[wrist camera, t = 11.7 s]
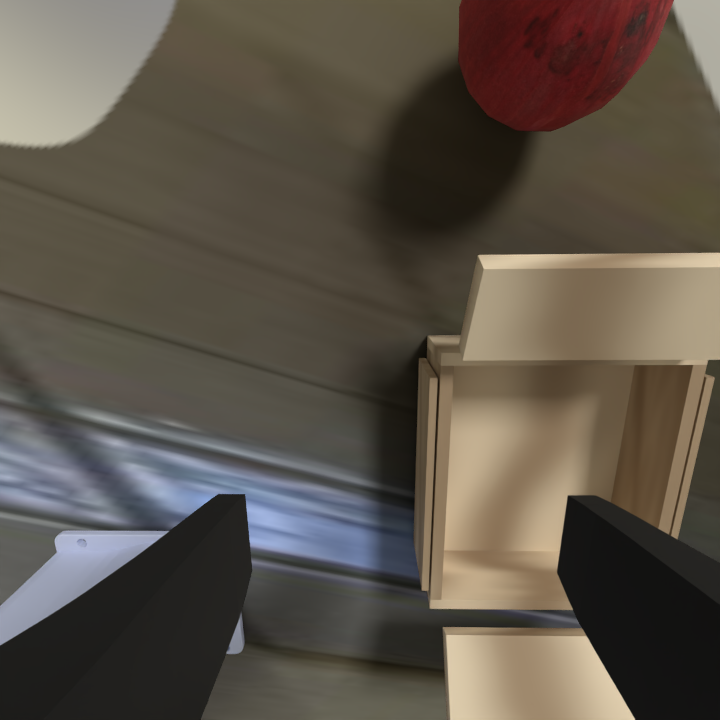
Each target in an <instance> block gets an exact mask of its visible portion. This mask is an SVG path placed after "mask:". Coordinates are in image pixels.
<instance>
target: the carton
mask: <svg viewBox="0 0 720 720" xmlns="http://www.w3.org/2000/svg"><path fill="white" fill-rule="evenodd" d="M460 337H461V335H437V336H427V359H426V358H419V379H418V411H417V444H416V477H415V509H414V547H415V553H416V559H417V565H418V571H419V577H420V583H421V589H422V591H427V596H428V601H429V607H430V609H519V610H573V609H572V607H571V604H570V602H569V600H568V598H567V595H566V593H565V591H564V588H563V586H562V584H561V581H560V579H559V576H558V574H557V567H558V560H559V553H560V546H561V539H562V532H563V525H564V518H565V511H566V504H567V497H568V495H596V496H598V497H600V498H603V499H605V500H607V501H609V502H611V503H613V504H615V505H617V506H618V507H620V508H622V509H624V510H626V511H628V512H629V513H631V514H633V515H635V516H637V517H639V518H640V519H642V520H644V521H646V522H647V523H649V524H651V525H653V526H655V527H656V528H658V529H660V530H662V531H663V532H665V533H667V534H669V535H670V536H672V537H674V538H676V539H678V535H679V530H680V526H681V522H682V517H683V513H684V509H685V504H686V500H687V496H688V491H689V487H690V483H691V478H692V474H693V470H694V465H695V461H696V457H697V452H698V448H699V443H700V439H701V435H702V430H703V426H704V422H705V417H706V413H707V409H708V404H709V400H710V396H711V391H712V387H713V383H714V378H715V377H712V376H709V375H706V374H705V371H706V366H707V362H708V360H479V361H463V360H462V356H461V352H460V349H459V341H460Z"/></svg>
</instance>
